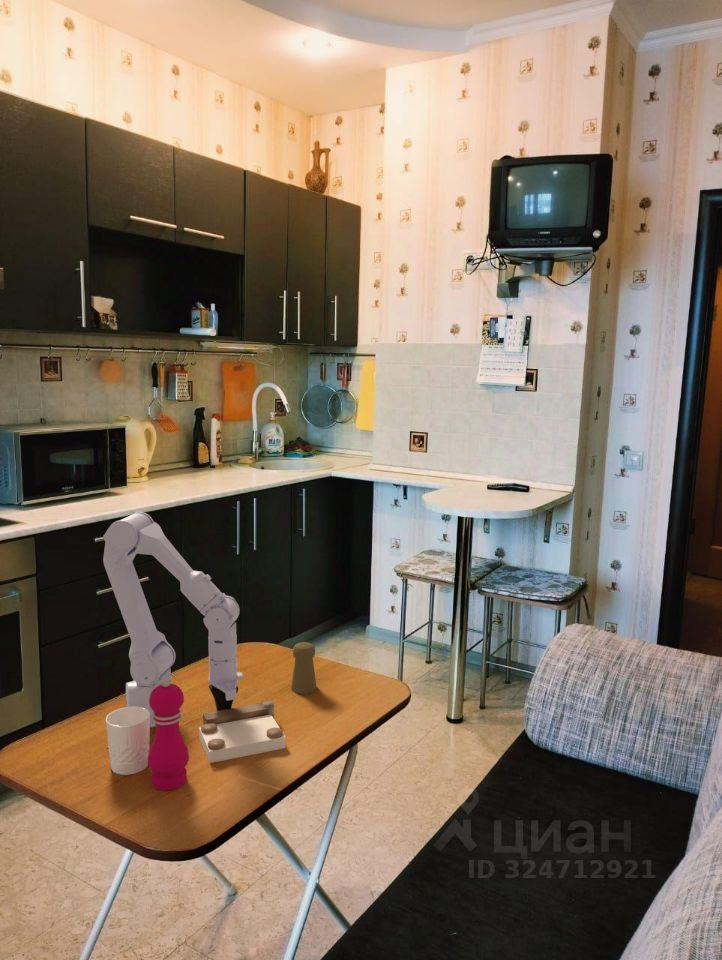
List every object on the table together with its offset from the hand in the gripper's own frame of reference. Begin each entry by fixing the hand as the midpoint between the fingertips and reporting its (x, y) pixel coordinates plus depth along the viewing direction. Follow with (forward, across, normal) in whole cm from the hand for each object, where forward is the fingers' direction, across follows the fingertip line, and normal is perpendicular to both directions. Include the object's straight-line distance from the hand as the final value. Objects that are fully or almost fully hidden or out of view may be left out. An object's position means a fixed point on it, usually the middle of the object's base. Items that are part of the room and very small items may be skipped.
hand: (224, 717), depth 156 cm
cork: (+2, +10, -21) cm, 23 cm away
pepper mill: (+2, -17, +14) cm, 22 cm away
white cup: (+2, -9, +20) cm, 22 cm away
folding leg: (+1, -2, -3) cm, 4 cm away
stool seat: (+1, -9, -2) cm, 10 cm away
